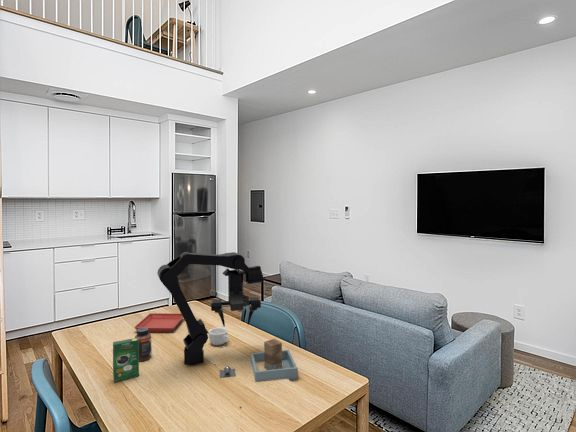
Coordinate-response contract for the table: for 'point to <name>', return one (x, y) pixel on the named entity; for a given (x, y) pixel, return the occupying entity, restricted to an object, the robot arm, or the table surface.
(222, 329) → the teacup
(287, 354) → the bin
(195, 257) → the robot arm
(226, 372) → the knob on square plate
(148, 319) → the plant saucer
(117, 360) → the coffee box
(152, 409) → the table surface
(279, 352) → the strut
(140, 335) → the supplement bottle
